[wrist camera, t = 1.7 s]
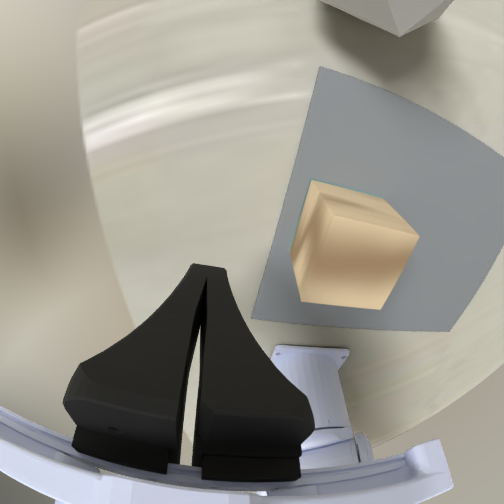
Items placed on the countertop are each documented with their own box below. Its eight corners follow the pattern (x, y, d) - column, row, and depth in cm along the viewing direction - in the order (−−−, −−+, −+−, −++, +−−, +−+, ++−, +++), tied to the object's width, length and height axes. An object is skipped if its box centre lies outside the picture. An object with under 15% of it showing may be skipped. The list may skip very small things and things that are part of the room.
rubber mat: (448, 330, 28) (449, 331, 28) (251, 316, 25) (251, 318, 25) (529, 178, 18) (531, 179, 17) (319, 66, 14) (320, 66, 14)
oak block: (355, 261, 22) (380, 309, 17) (288, 250, 21) (301, 301, 16) (382, 197, 19) (419, 236, 14) (310, 178, 18) (334, 215, 14)
